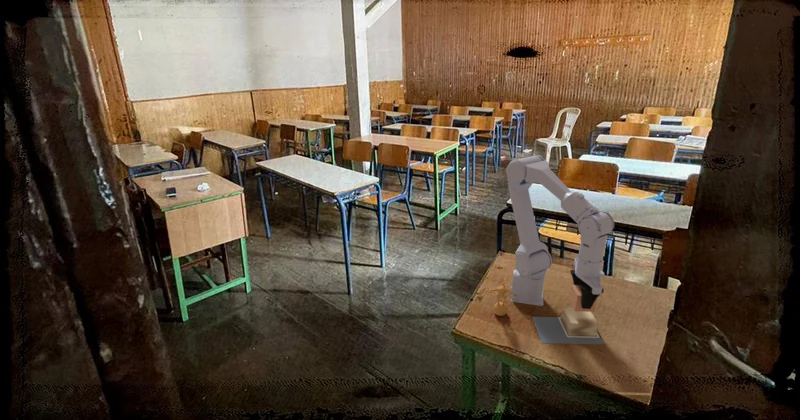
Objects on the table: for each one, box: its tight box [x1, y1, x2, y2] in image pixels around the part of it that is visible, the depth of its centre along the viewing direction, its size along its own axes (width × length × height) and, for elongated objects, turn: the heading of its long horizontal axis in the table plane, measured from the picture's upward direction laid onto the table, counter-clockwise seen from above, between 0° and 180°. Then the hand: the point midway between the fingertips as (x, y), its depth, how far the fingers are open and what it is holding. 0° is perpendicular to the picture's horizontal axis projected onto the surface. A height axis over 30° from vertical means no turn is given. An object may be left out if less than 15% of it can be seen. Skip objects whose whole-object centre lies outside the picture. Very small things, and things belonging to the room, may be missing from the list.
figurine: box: [486, 282, 517, 317], centre depth 118 cm, size 8×6×12 cm
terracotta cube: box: [568, 284, 598, 313], centre depth 111 cm, size 5×5×5 cm
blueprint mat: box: [532, 316, 605, 345], centre depth 114 cm, size 16×11×1 cm
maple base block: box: [561, 306, 599, 336], centre depth 114 cm, size 7×7×4 cm
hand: (582, 301), depth 112 cm, fingers closed on terracotta cube, 5 cm apart
